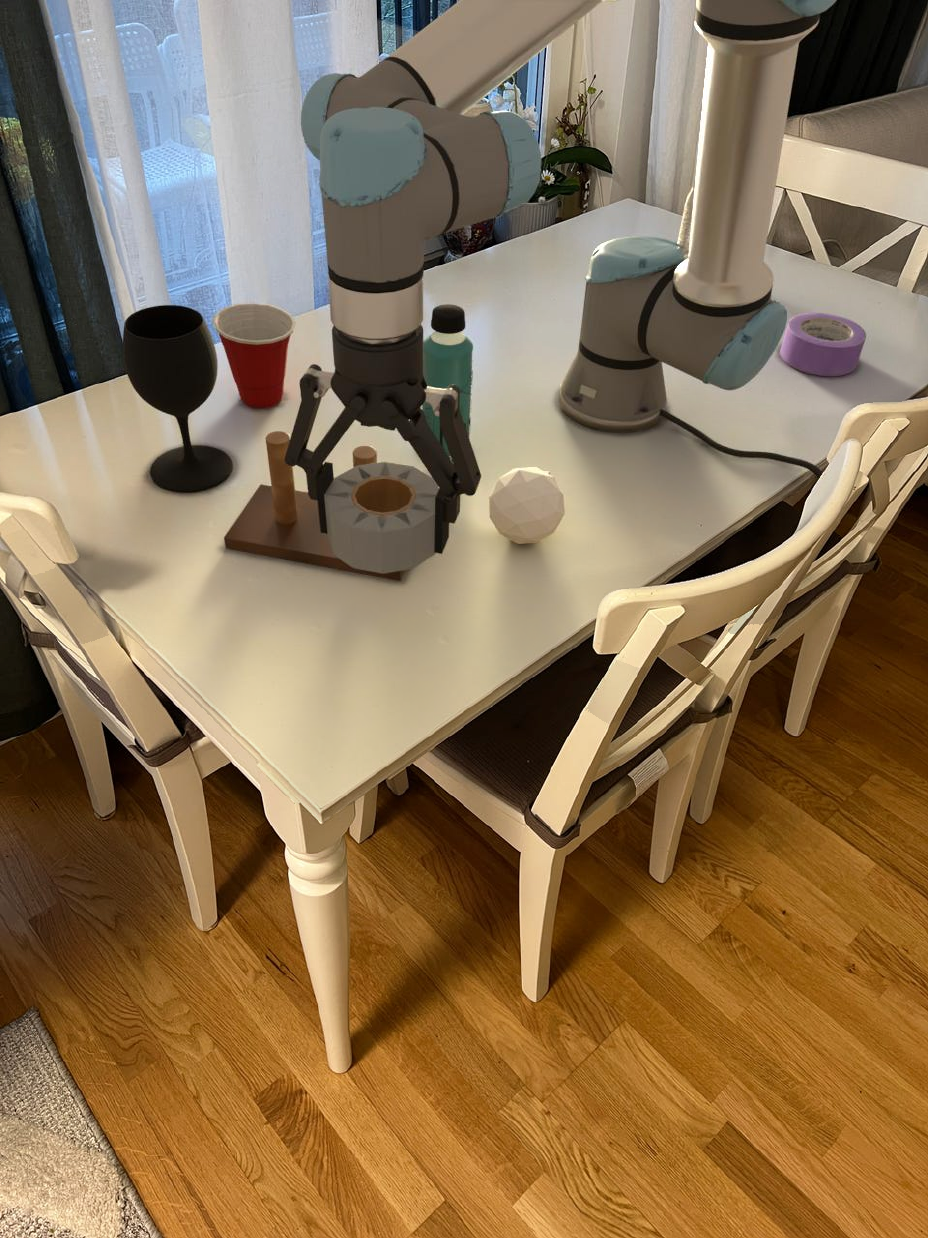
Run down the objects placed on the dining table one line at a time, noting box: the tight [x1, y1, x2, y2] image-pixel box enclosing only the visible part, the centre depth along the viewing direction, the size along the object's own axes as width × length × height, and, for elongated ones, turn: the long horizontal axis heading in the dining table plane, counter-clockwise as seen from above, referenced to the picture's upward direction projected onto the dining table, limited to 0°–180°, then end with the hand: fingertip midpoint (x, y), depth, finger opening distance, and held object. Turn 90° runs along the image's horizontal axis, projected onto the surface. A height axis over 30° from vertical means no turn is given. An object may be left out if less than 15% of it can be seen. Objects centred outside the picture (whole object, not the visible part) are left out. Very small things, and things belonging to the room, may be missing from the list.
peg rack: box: [223, 430, 406, 581], centre depth 107 cm, size 21×11×13 cm, turn 77°
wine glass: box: [122, 304, 234, 494], centre depth 113 cm, size 10×10×20 cm
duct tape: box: [324, 461, 439, 574], centre depth 90 cm, size 11×11×5 cm
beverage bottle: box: [421, 303, 474, 457], centre depth 118 cm, size 6×7×20 cm
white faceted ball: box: [488, 466, 566, 545], centre depth 111 cm, size 9×9×12 cm
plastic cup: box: [212, 302, 297, 410], centre depth 129 cm, size 11×11×12 cm
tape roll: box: [779, 312, 867, 377], centre depth 147 cm, size 12×12×5 cm
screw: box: [673, 185, 695, 262], centre depth 171 cm, size 13×5×5 cm
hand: (384, 534), depth 92 cm, fingers closed on duct tape, 11 cm apart
